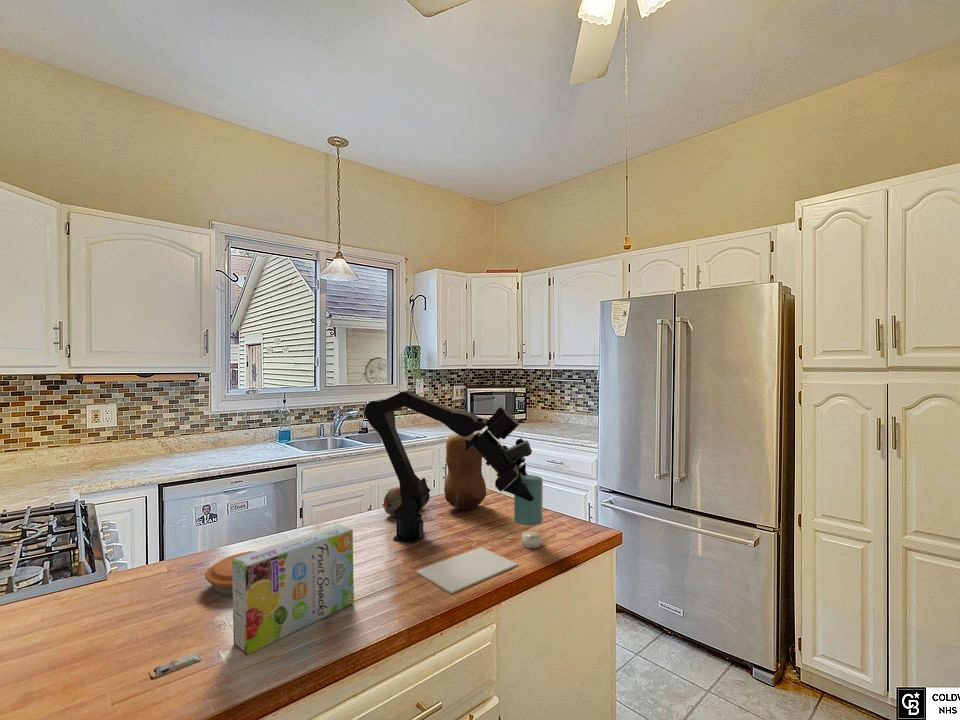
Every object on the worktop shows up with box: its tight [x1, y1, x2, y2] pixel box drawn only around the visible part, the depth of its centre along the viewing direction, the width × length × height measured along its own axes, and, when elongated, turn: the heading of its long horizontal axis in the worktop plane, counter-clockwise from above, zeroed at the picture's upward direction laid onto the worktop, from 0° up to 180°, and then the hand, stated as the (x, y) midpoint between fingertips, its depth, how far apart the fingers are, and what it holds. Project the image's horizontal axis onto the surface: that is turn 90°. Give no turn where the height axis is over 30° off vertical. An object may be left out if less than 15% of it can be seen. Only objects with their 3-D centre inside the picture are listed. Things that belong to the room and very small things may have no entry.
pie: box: [204, 550, 256, 597], centre depth 102 cm, size 15×16×5 cm
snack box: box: [232, 524, 355, 655], centre depth 87 cm, size 21×6×15 cm, turn 141°
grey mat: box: [415, 546, 519, 595], centre depth 109 cm, size 20×13×1 cm, turn 132°
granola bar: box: [152, 653, 202, 676], centre depth 74 cm, size 7×2×1 cm, turn 133°
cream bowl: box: [521, 531, 542, 549], centre depth 123 cm, size 5×5×3 cm
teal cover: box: [513, 474, 544, 526], centre depth 121 cm, size 7×7×11 cm
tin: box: [383, 486, 402, 517], centre depth 149 cm, size 15×3×8 cm, turn 143°
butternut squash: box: [443, 432, 487, 511], centre depth 152 cm, size 14×13×25 cm
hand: (533, 495), depth 121 cm, fingers closed on teal cover, 7 cm apart
